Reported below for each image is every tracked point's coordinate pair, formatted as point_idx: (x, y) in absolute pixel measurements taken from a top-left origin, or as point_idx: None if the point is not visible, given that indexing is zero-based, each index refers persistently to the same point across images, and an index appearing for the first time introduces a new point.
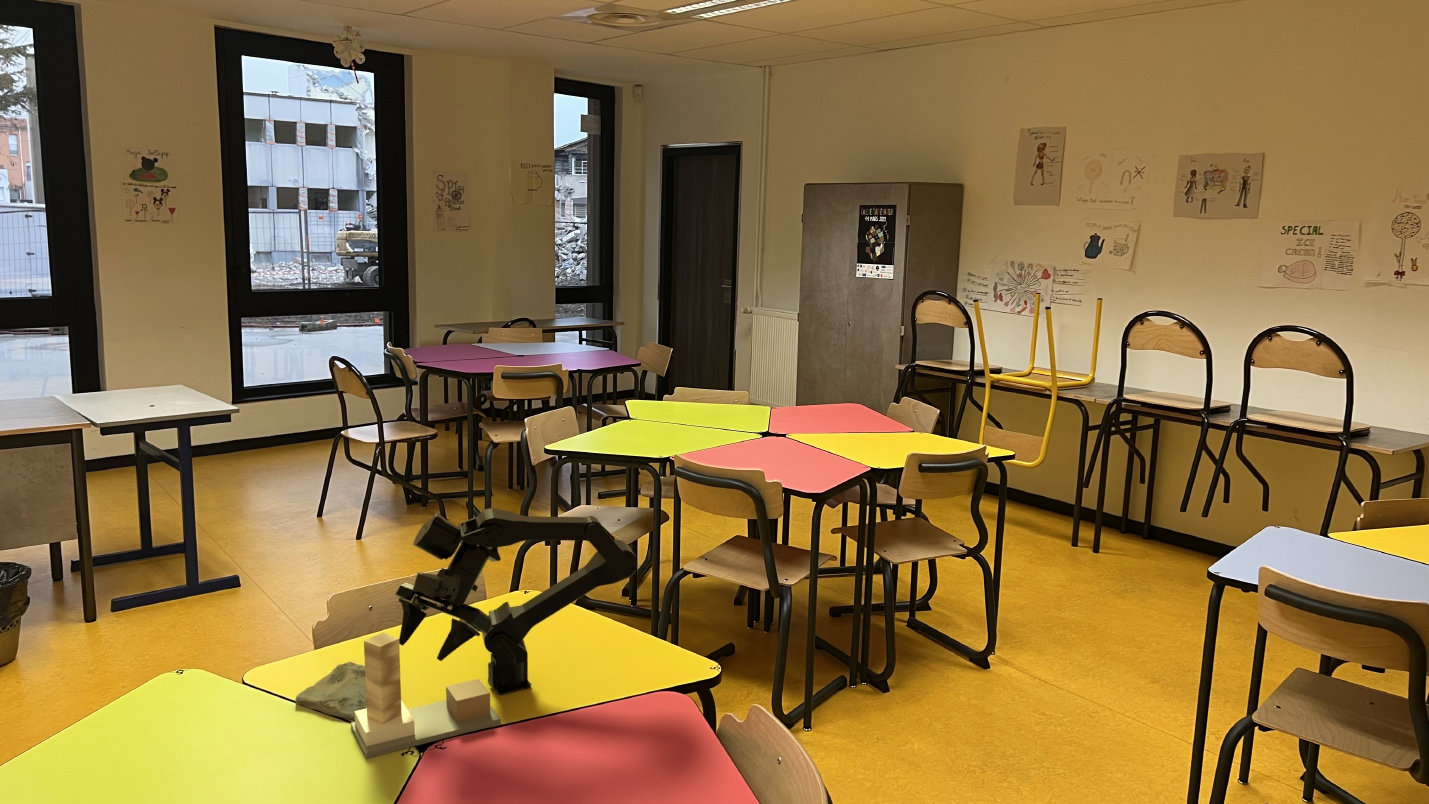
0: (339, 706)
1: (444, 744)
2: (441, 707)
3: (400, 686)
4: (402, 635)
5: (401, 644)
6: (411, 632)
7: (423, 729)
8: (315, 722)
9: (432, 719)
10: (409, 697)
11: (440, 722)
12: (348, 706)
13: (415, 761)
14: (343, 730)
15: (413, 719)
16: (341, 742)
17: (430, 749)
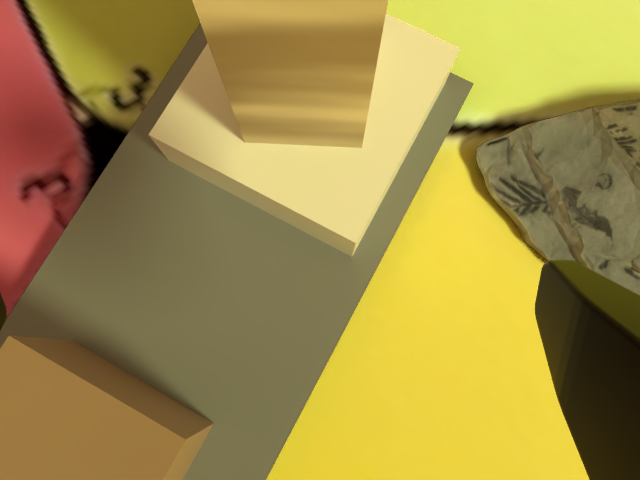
0: (619, 126)
1: (43, 208)
2: (232, 404)
3: (215, 59)
4: (594, 296)
5: (540, 286)
6: (605, 471)
7: (163, 207)
8: (620, 52)
9: (188, 292)
10: (478, 427)
11: (136, 292)
12: (599, 164)
13: (64, 64)
14: (476, 69)
15: (160, 140)
16: (407, 10)
17: (69, 151)
